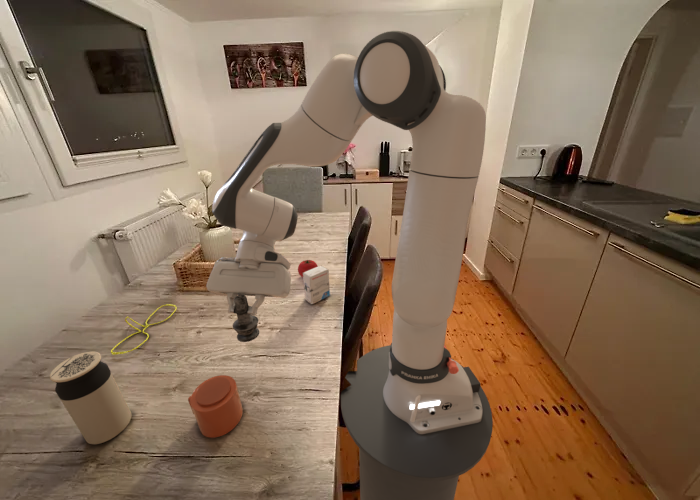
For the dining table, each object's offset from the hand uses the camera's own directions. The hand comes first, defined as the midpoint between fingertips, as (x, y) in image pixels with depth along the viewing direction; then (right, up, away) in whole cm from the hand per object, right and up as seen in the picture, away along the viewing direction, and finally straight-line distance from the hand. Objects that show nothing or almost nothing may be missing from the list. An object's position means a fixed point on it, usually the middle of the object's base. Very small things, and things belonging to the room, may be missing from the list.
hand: (242, 314), depth 65 cm
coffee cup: (-4, -23, -2) cm, 23 cm away
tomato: (+7, +3, +57) cm, 58 cm away
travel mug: (-28, -24, -4) cm, 37 cm away
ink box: (+13, -3, +41) cm, 43 cm away
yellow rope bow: (-42, -11, +27) cm, 51 cm away
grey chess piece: (0, -6, +3) cm, 7 cm away
